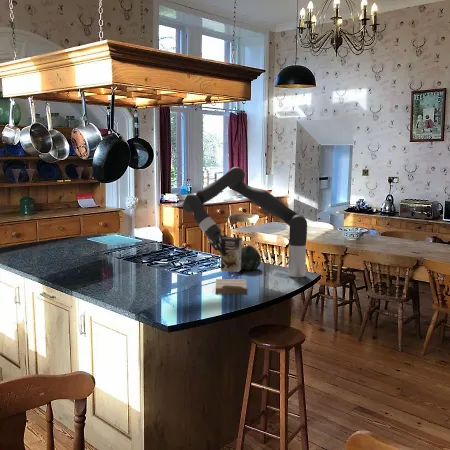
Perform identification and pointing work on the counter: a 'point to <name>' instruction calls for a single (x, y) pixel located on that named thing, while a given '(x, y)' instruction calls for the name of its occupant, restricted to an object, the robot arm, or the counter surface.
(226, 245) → the coffee box
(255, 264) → the squash
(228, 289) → the wooden board
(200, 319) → the counter surface
